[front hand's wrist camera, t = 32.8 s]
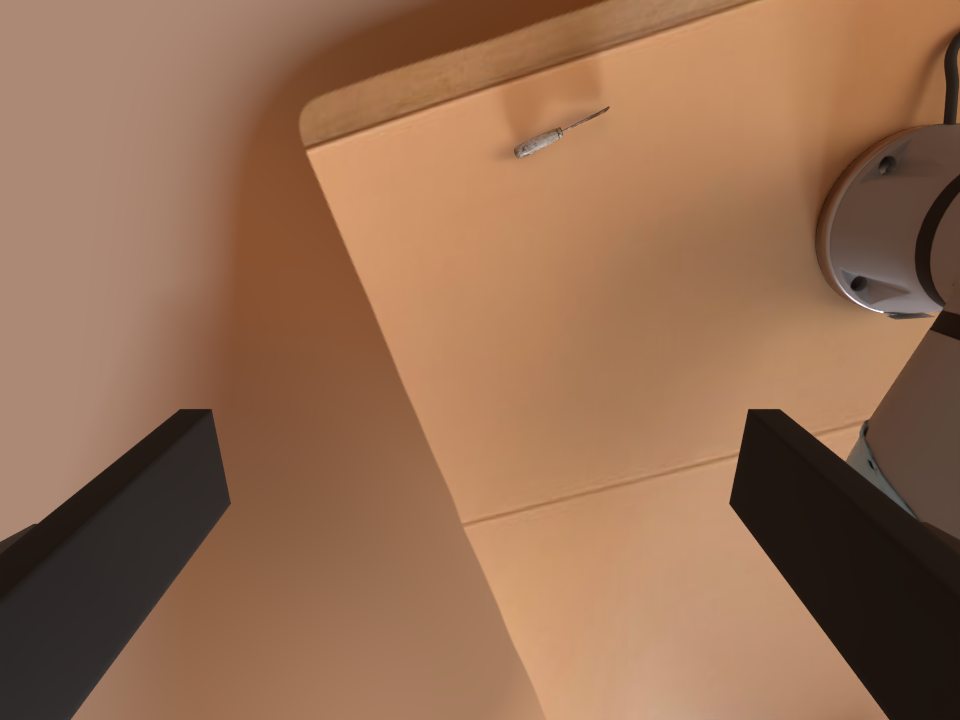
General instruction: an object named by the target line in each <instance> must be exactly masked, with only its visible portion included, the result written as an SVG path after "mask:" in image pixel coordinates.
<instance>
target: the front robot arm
mask: <svg viewBox="0 0 960 720" xmlns="http://www.w3.org/2000/svg"><path fill="white" fill-rule="evenodd" d="M959 48H960V33H958V34H957V35H956V36H955V37H954V39H953V40H952V42H951V43H950V45H949V47H948V49H947V51H946V54H945V60H944V68H945V77H946V98H945V111H944V123H943V124H937V125H926V126H919V127H914V128H910V129H906V130H903V131H900V132H898V133H895V134H893V135H891V136H889V137H886V138H884V139H883V140H881V141H879V142H878V143H876V144H874V145H873V146H871V147H870V148H869V149H867V150H866V151H865V152H863V153H862V154H861V155H860V156H859V157H858V158H857V159H855V160H854V161H853V162H852V163H851V164H850V165H849V167H848V168H847V169H846V170H845V171H844V172H843V173H842V175H841V176H840V177H839V179H838V180H837V182H836V183H835V185H834V186H833V188H832V189H831V191H830V193H829V195H828V197H827V199H826V201H825V203H824V205H823V208H822V211H821V214H820V217H819V221H818V226H817V232H816V252H817V259H818V263H819V266H820V269H821V271H822V274H823V275H824V277H825V279H826V281H827V282H828V283H829V285H830V286H831V287H832V288H833V289H834V290H835V291H836V292H837V293H838V294H839V295H840V296H842V297H843V298H845V299H846V300H848V301H850V302H852V303H855V304H857V305H860V306H863V307H866V308H868V309H871V310H874V311H878V312H882V313H890V315H885V316H888V317H891V318H893V319H910V318H925V317H934V316H931V315H928V314H925V313H923V312H941V313H940V314H939V316H938V317H937V319H936V320H935V322H934V323H933V325H932V327H931V328H930V329H929V330H928V332H927V333H926V335H925V336H924V338H923V339H922V341H921V342H920V344H919V345H918V347H917V348H916V350H915V351H914V353H913V354H912V356H911V357H910V359H909V360H908V362H907V363H906V365H905V367H904V368H903V370H902V371H901V373H900V374H899V376H898V377H897V379H896V380H895V382H894V383H893V385H892V386H891V388H890V389H889V391H888V392H887V394H886V395H885V397H884V398H883V400H882V401H881V403H880V404H879V406H878V407H877V409H876V410H875V412H874V413H873V415H872V416H871V418H870V419H869V420H867V421H865V422H864V424H863V425H862V427H861V429H860V437H859V439H858V441H857V442H856V444H855V446H854V448H853V449H852V451H851V453H850V455H849V456H848V458H847V460H846V462H845V461H844V460H842V459H841V458H840V457H839V456H837V455H836V454H835V453H834V452H832V451H831V450H830V449H829V448H827V447H826V446H825V445H824V444H822V443H821V442H820V441H819V440H817V439H816V438H815V437H814V436H812V435H811V434H810V433H809V432H807V431H806V430H805V429H804V428H803V427H801V426H800V425H799V424H798V423H796V422H795V421H794V420H793V419H791V418H790V417H789V416H788V415H786V414H785V413H784V412H783V411H781V410H780V409H748V414H747V419H746V424H745V429H744V434H743V439H742V443H741V448H740V453H739V458H738V463H737V468H736V473H735V478H734V483H733V488H732V493H731V498H730V502H729V504H730V505H731V507H732V508H733V509H734V511H735V512H736V514H737V515H738V516H739V518H740V519H741V520H742V522H743V523H744V524H745V526H746V527H747V528H748V530H749V531H750V532H751V534H752V535H753V536H754V538H755V539H756V540H757V542H758V543H759V545H760V546H761V547H762V549H763V550H764V551H765V553H766V554H767V555H768V557H769V558H770V559H771V561H772V562H773V563H774V565H775V566H776V567H777V569H778V570H779V571H780V573H781V574H782V576H783V577H784V578H785V580H786V581H787V582H788V584H789V585H790V586H791V588H792V589H793V590H794V592H795V593H796V594H797V596H798V597H799V598H800V600H801V601H802V602H803V604H804V605H805V607H806V608H807V609H808V611H809V612H810V613H811V615H812V616H813V617H814V619H815V620H816V621H817V623H818V624H819V625H820V627H821V628H822V629H823V631H824V632H825V633H826V635H827V636H828V638H829V639H830V640H831V642H832V643H833V644H834V646H835V647H836V648H837V650H838V651H839V652H840V654H841V655H842V656H843V658H844V659H845V660H846V662H847V663H848V664H849V666H850V667H851V668H852V670H853V671H854V673H855V674H856V675H857V677H858V678H859V679H860V681H861V682H862V683H863V685H864V686H865V687H866V689H867V690H868V691H869V693H870V694H871V695H872V697H873V698H874V699H875V701H876V702H877V704H878V705H879V706H880V708H881V709H882V710H883V712H884V713H885V714H886V716H887V717H888V718H889V720H960V124H957V123H956V115H957V103H958V90H959V75H958V67H957V54H958V50H959ZM903 313H905V314H903ZM230 504H231V502H230V498H229V493H228V488H227V483H226V478H225V473H224V468H223V463H222V458H221V453H220V448H219V444H218V439H217V434H216V429H215V424H214V419H213V414H212V410H211V409H180V410H179V411H177V412H176V413H175V414H174V415H172V416H171V417H170V418H169V419H167V420H166V421H165V422H164V423H162V424H161V425H160V426H159V427H157V428H156V429H155V430H154V431H153V432H151V433H150V434H149V435H148V436H146V437H145V438H144V439H143V440H141V441H140V442H139V443H138V444H136V445H135V446H134V447H133V448H131V449H130V450H129V451H128V452H126V453H125V454H124V455H123V456H121V457H120V458H119V459H118V460H117V461H115V462H114V463H113V464H112V465H110V466H109V467H108V468H107V469H105V470H104V471H103V472H102V473H100V474H99V475H98V476H97V477H95V478H94V479H93V480H92V481H90V482H89V483H88V484H87V485H85V486H84V487H83V488H82V489H80V490H79V491H78V492H77V493H76V494H74V495H73V496H72V497H71V498H69V499H68V500H67V501H66V502H64V503H63V504H62V505H61V506H59V507H58V508H57V509H56V510H54V511H53V512H52V513H51V514H49V515H48V516H47V517H46V518H45V519H43V520H42V521H41V522H40V523H38V524H33V525H31V526H29V527H27V528H25V529H24V530H22V531H20V532H18V533H16V534H14V535H12V536H10V537H9V538H7V539H5V540H3V541H1V542H0V720H71V718H72V717H73V716H74V714H75V713H76V712H77V710H78V709H79V708H80V706H81V705H82V703H83V702H84V701H85V699H86V698H87V697H88V695H89V694H90V693H91V691H92V690H93V689H94V687H95V686H96V685H97V683H98V682H99V681H100V679H101V678H102V677H103V675H104V674H105V673H106V671H107V670H108V668H109V667H110V666H111V664H112V663H113V662H114V660H115V659H116V658H117V656H118V655H119V654H120V652H121V651H122V650H123V648H124V647H125V646H126V644H127V643H128V641H129V640H130V639H131V637H132V636H133V635H134V633H135V632H136V631H137V629H138V628H139V627H140V625H141V624H142V623H143V621H144V620H145V619H146V617H147V616H148V615H149V613H150V612H151V611H152V609H153V608H154V607H155V605H156V604H157V602H158V601H159V600H160V598H161V597H162V596H163V594H164V593H165V592H166V590H167V589H168V588H169V586H170V585H171V584H172V582H173V581H174V580H175V578H176V577H177V575H178V574H179V573H180V571H181V570H182V569H183V567H184V566H185V565H186V563H187V562H188V561H189V559H190V558H191V557H192V555H193V554H194V552H195V551H196V550H197V549H198V547H199V546H200V545H201V543H202V542H203V540H204V539H205V538H206V536H207V535H208V534H209V532H210V531H211V530H212V528H213V527H214V526H215V524H216V523H217V522H218V520H219V519H220V518H221V516H222V515H223V513H224V512H225V511H226V509H227V508H228V507H229V505H230Z"/></svg>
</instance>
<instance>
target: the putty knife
mask: <svg viewBox="0 0 960 720" xmlns="http://www.w3.org/2000/svg"><path fill="white" fill-rule="evenodd" d="M608 109H609V107H607V108H605V109H603V110H602V111H600V112H598V113H596V114H594V115H592V116H590V117H588V118H586V119H584V120H582V121H580V122H578V123H576V124H574V125H572V126H570V127H568V128H567V129H565V130H563V131H562V130H561V128H560V127H559V128H556V129H553V130H551V131H548V132H546V133H544V134H541V135H539V136H537V137H535V138H533V139H530V140H529V141H527V142H525V143H523V144H520V145H519V146H517V147H515V149H514V152H515V155H516V157H517V158H522V157H524V156H527V155H529V154H531V153H533V152H535V151H537V150H539V149H541V148H543V147H545V146H547V145H549V144H551V143H553V142H555V141H557V140H558V139H560V138H561V137H562V136H563V133H562V132H564V131H566V130H568V129H570V128H573V127H575V126H577V125H579V124H581V123H584V122H586V121H588V120H590V119H592V118H594V117H596V116H598V115H600V114H602V113H604V112H606V111H607V110H608Z"/></svg>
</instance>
